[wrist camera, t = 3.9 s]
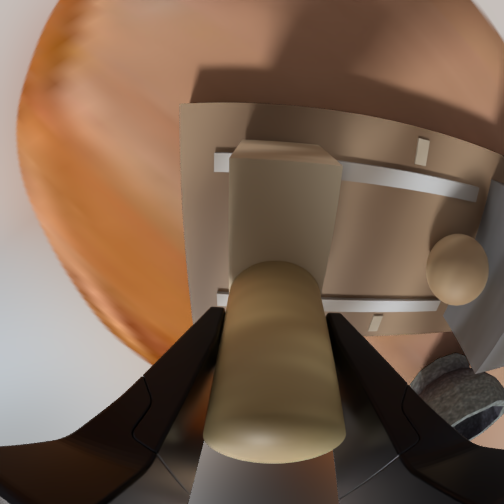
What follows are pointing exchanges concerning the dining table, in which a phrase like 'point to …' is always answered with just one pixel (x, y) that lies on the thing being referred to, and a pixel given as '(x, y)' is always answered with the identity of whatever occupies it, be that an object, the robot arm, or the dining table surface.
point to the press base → (359, 217)
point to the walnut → (457, 269)
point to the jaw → (277, 308)
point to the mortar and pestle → (461, 394)
